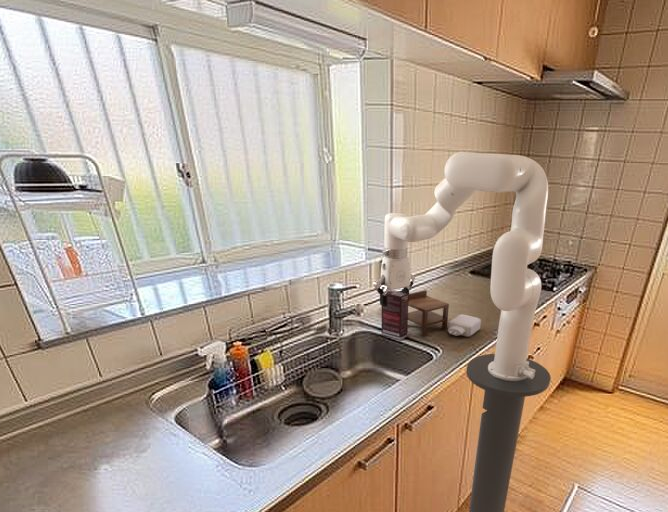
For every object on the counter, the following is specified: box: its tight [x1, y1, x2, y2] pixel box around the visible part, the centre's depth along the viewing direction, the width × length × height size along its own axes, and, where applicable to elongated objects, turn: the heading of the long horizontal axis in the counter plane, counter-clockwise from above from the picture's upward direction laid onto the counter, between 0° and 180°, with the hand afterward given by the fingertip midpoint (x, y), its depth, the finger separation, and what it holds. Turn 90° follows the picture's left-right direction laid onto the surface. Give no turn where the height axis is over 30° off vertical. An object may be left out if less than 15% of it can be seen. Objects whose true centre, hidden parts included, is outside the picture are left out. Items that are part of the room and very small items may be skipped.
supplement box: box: [381, 289, 410, 341], centre depth 147 cm, size 9×5×16 cm, turn 59°
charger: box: [447, 313, 482, 338], centre depth 155 cm, size 5×9×15 cm
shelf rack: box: [408, 289, 450, 337], centre depth 156 cm, size 13×12×12 cm
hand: (394, 303), depth 145 cm, fingers open, 9 cm apart
